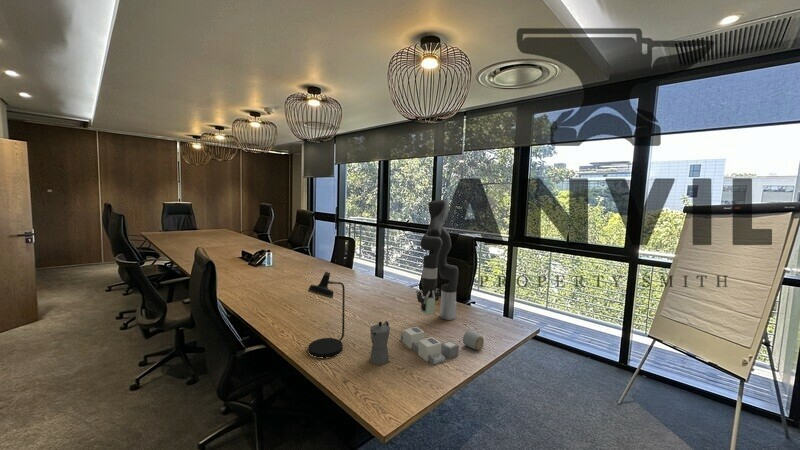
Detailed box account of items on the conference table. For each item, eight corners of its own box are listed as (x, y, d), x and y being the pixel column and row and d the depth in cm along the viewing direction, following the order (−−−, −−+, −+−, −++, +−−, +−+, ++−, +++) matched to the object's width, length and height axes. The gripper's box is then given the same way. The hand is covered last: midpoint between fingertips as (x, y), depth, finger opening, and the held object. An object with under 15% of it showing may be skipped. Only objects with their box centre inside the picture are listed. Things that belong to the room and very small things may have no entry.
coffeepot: (382, 369, 135) (383, 329, 133) (363, 364, 139) (364, 325, 137) (396, 353, 149) (397, 316, 148) (378, 349, 153) (379, 313, 151)
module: (428, 310, 160) (429, 294, 159) (434, 313, 156) (435, 297, 155) (421, 311, 157) (421, 295, 157) (426, 314, 153) (427, 298, 153)
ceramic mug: (476, 352, 152) (477, 337, 151) (462, 346, 158) (463, 331, 157) (487, 346, 159) (488, 331, 159) (473, 340, 165) (474, 326, 165)
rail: (411, 336, 167) (411, 331, 167) (445, 361, 143) (445, 355, 143) (400, 339, 164) (400, 334, 163) (433, 365, 140) (433, 358, 140)
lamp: (298, 353, 147) (298, 272, 143) (332, 336, 165) (333, 264, 161) (323, 364, 138) (323, 278, 134) (355, 345, 156) (357, 269, 153)
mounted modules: (416, 339, 164) (416, 326, 164) (440, 357, 147) (441, 342, 146) (403, 342, 160) (403, 329, 159) (426, 361, 143) (427, 346, 142)
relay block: (448, 350, 154) (449, 340, 154) (458, 355, 150) (458, 344, 149) (440, 354, 150) (440, 343, 150) (450, 359, 146) (450, 348, 145)
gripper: (436, 273, 162) (434, 305, 163) (413, 275, 155) (411, 309, 156) (445, 276, 156) (443, 310, 157) (422, 279, 148) (420, 314, 149)
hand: (427, 309), depth 156 cm, fingers closed on module, 4 cm apart
